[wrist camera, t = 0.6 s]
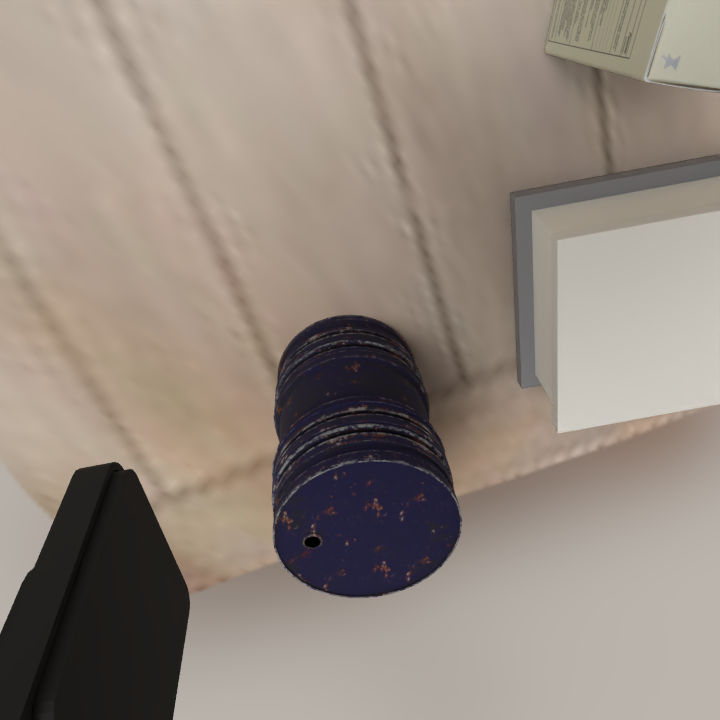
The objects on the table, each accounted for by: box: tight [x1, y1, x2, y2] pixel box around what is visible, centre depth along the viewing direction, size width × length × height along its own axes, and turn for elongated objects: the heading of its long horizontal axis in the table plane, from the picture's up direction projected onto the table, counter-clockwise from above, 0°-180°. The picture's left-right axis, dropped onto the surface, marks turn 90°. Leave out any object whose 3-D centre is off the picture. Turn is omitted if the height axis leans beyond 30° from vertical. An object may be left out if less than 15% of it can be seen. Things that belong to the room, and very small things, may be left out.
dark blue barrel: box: [272, 315, 462, 598], centre depth 40 cm, size 10×10×15 cm
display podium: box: [510, 154, 720, 433], centre depth 41 cm, size 14×14×7 cm
